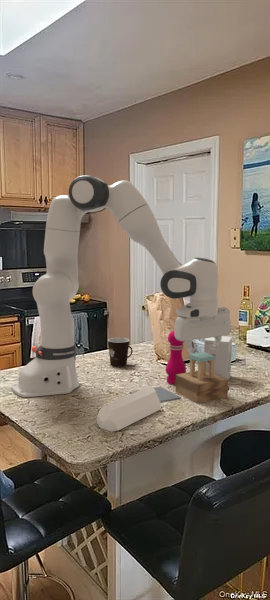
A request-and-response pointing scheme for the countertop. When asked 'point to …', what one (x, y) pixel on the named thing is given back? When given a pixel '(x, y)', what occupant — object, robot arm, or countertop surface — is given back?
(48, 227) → the robot arm
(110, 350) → the coffee mug
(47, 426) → the countertop surface
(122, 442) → the countertop surface
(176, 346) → the pepper mill
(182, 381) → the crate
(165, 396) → the mat
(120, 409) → the crystal
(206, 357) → the stool
